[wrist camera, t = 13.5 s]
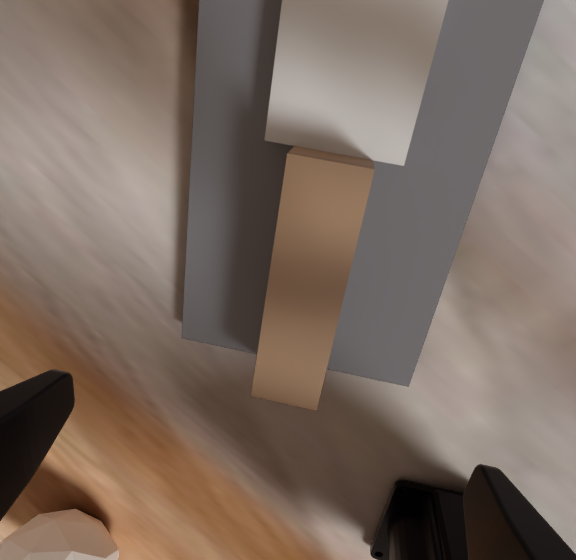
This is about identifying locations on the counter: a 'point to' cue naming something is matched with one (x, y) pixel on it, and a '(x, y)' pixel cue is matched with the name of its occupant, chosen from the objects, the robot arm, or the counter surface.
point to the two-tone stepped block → (332, 165)
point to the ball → (60, 539)
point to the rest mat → (382, 196)
